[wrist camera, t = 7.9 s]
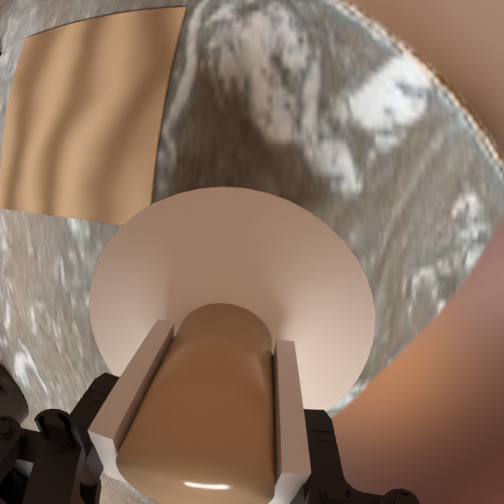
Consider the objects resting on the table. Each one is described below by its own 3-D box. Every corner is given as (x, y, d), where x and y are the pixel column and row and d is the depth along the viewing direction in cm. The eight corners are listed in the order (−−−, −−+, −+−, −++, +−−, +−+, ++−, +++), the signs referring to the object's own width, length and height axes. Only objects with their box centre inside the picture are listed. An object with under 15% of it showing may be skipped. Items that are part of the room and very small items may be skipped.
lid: (112, 399, 16) (58, 496, 8) (97, 173, 12) (-55, 199, 4) (325, 433, 16) (343, 545, 8) (400, 215, 12) (541, 284, 4)
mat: (1, 207, 24) (-1, 208, 23) (27, 39, 18) (25, 38, 18) (150, 228, 24) (148, 229, 24) (186, 8, 18) (185, 7, 18)
